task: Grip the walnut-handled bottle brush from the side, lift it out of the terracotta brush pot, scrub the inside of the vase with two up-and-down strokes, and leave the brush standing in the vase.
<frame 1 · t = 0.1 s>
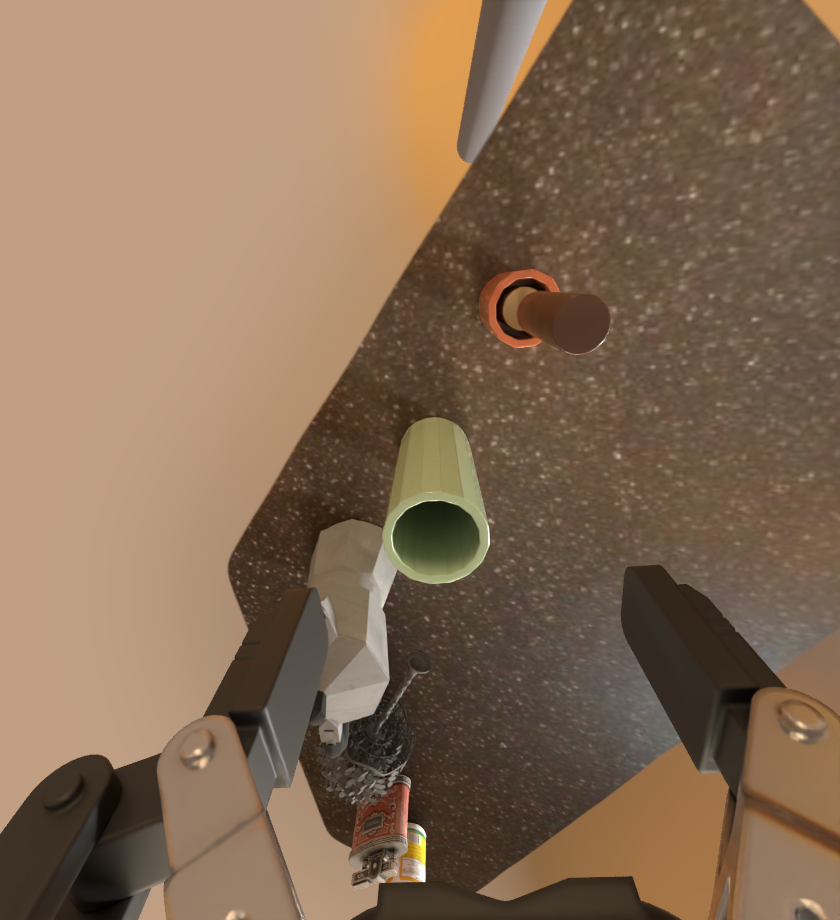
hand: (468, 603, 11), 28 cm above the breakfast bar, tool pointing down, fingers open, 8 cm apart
supplement bottle: (407, 830, 62), on the breakfast bar
massage brush: (381, 689, 52), on the breakfast bar
vase: (434, 450, 40), on the breakfast bar
coffeepot: (358, 564, 45), on the breakfast bar
bottle brush: (509, 305, 34), resting on brush pot
lighter: (384, 786, 59), on the breakfast bar
brush pot: (507, 304, 35), on the breakfast bar
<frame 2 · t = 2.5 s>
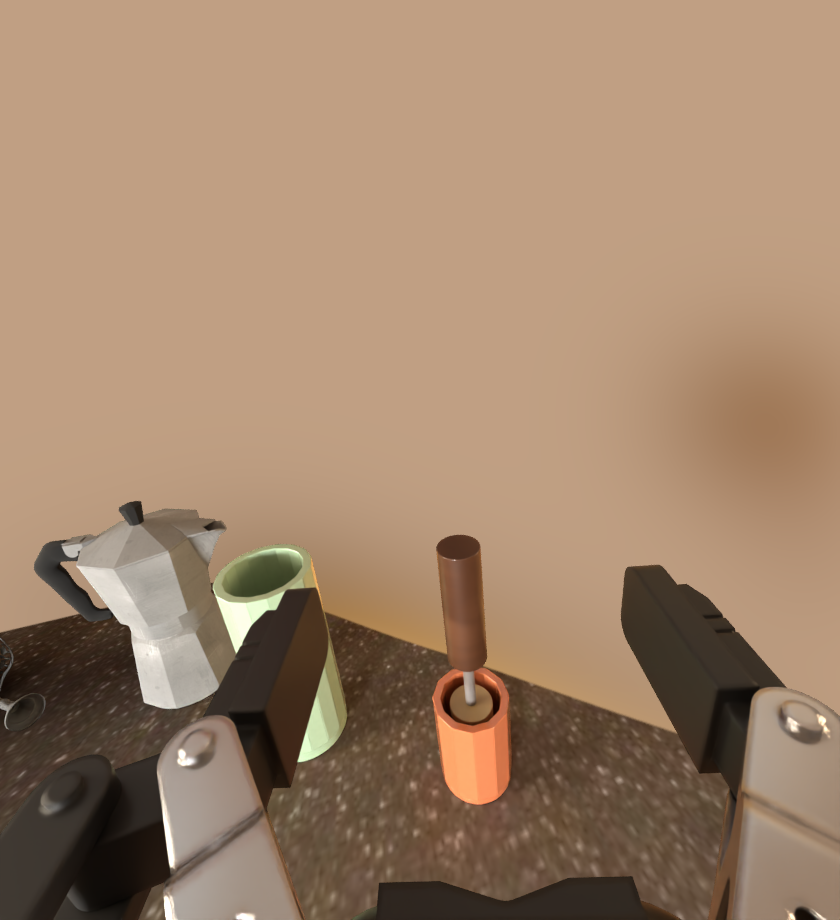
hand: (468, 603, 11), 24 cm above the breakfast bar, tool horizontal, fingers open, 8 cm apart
vase: (307, 722, 35), on the breakfast bar
coffeepot: (185, 671, 42), on the breakfast bar
bottle brush: (476, 762, 30), resting on brush pot
brush pot: (476, 766, 31), on the breakfast bar
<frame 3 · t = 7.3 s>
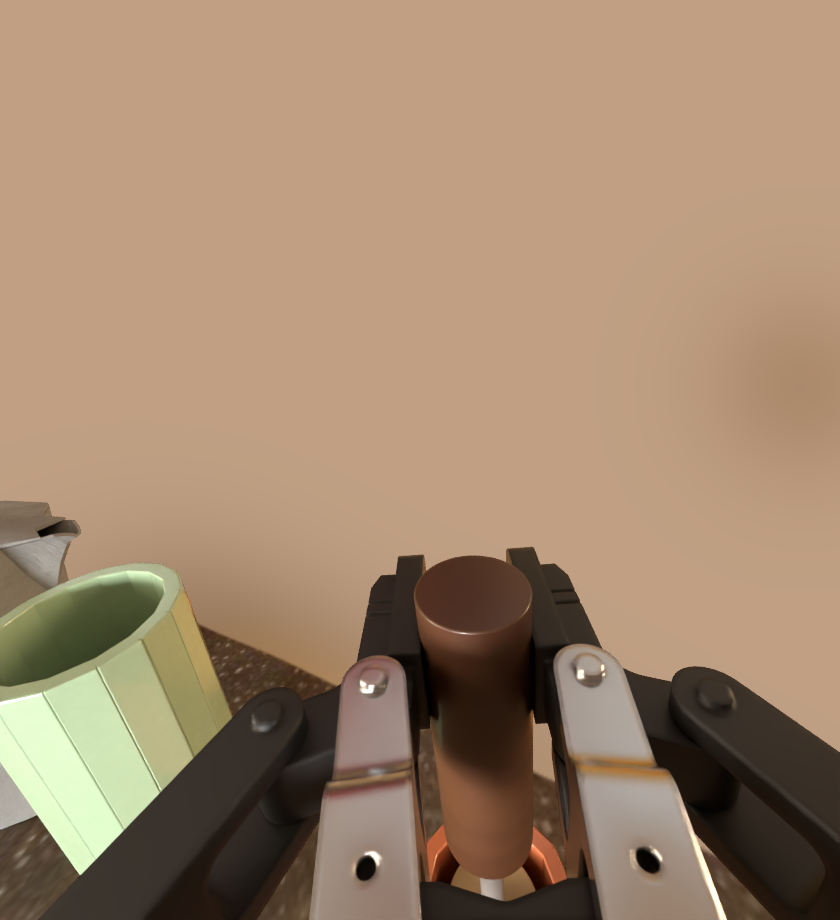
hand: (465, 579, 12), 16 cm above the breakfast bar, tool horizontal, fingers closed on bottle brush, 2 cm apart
vase: (204, 867, 20), on the breakfast bar
coffeepot: (40, 753, 27), on the breakfast bar
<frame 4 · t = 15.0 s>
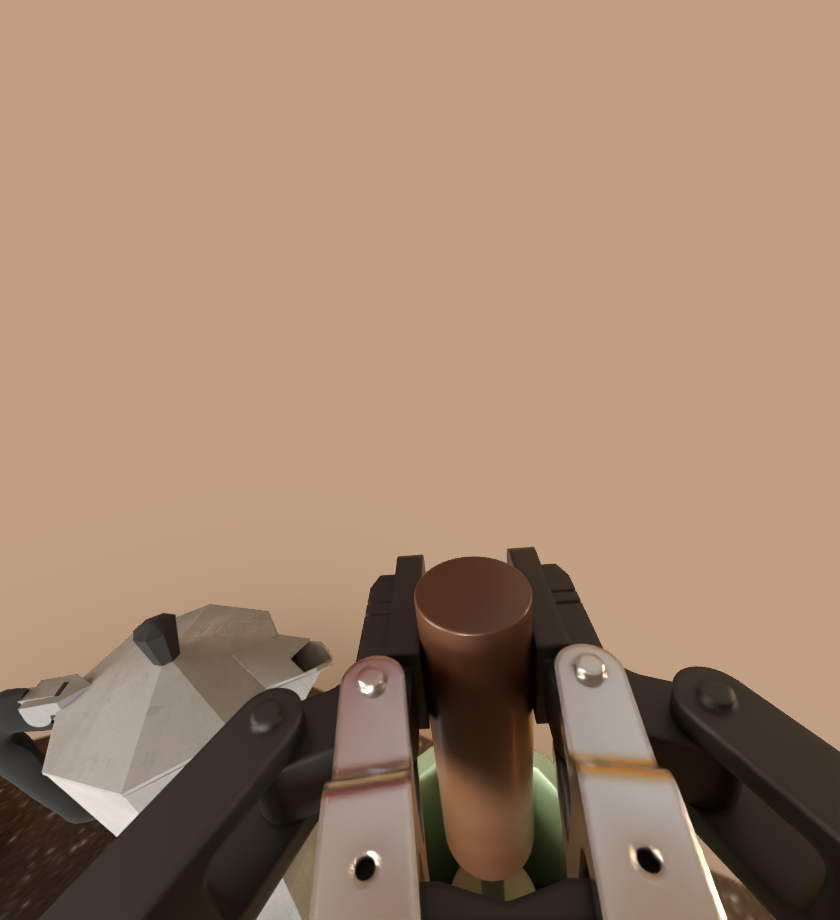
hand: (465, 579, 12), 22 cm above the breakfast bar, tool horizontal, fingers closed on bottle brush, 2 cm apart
coffeepot: (239, 879, 24), on the breakfast bar
when the fingers open (17 cm above the breakfast bar, at t = 23.0 s): bottle brush stays where it is, resting on vase.
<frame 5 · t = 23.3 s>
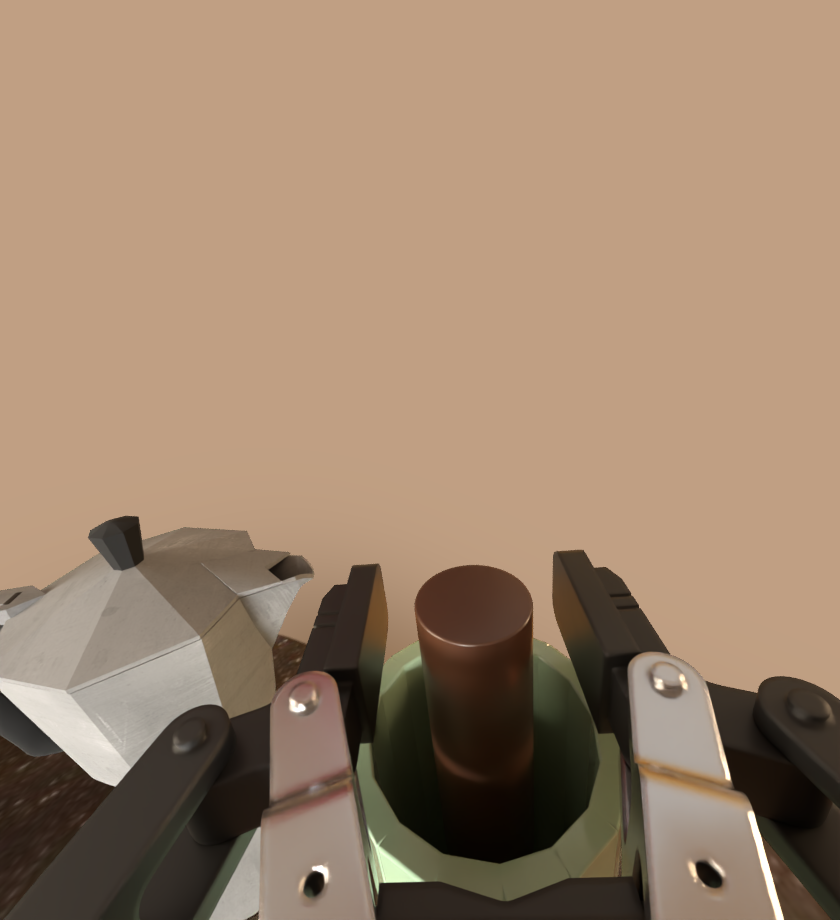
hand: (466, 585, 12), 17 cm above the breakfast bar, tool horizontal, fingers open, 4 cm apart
coffeepot: (218, 827, 23), on the breakfast bar
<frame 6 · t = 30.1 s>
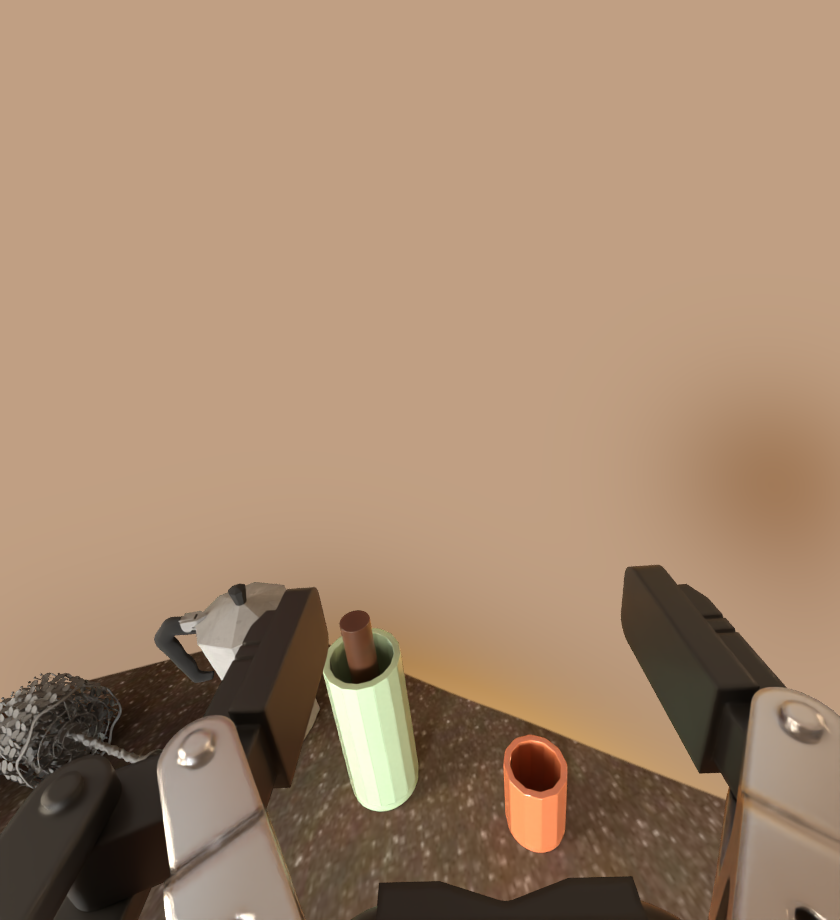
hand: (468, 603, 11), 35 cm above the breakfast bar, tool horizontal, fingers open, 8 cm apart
massage brush: (92, 766, 45), on the breakfast bar
vase: (385, 773, 41), on the breakfast bar
coffeepot: (268, 721, 48), on the breakfast bar
bottle brush: (384, 769, 41), point 1 cm above the breakfast bar, touching vase
brush pot: (535, 818, 37), on the breakfast bar
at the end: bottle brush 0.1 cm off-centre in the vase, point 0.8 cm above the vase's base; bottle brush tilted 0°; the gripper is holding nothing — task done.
